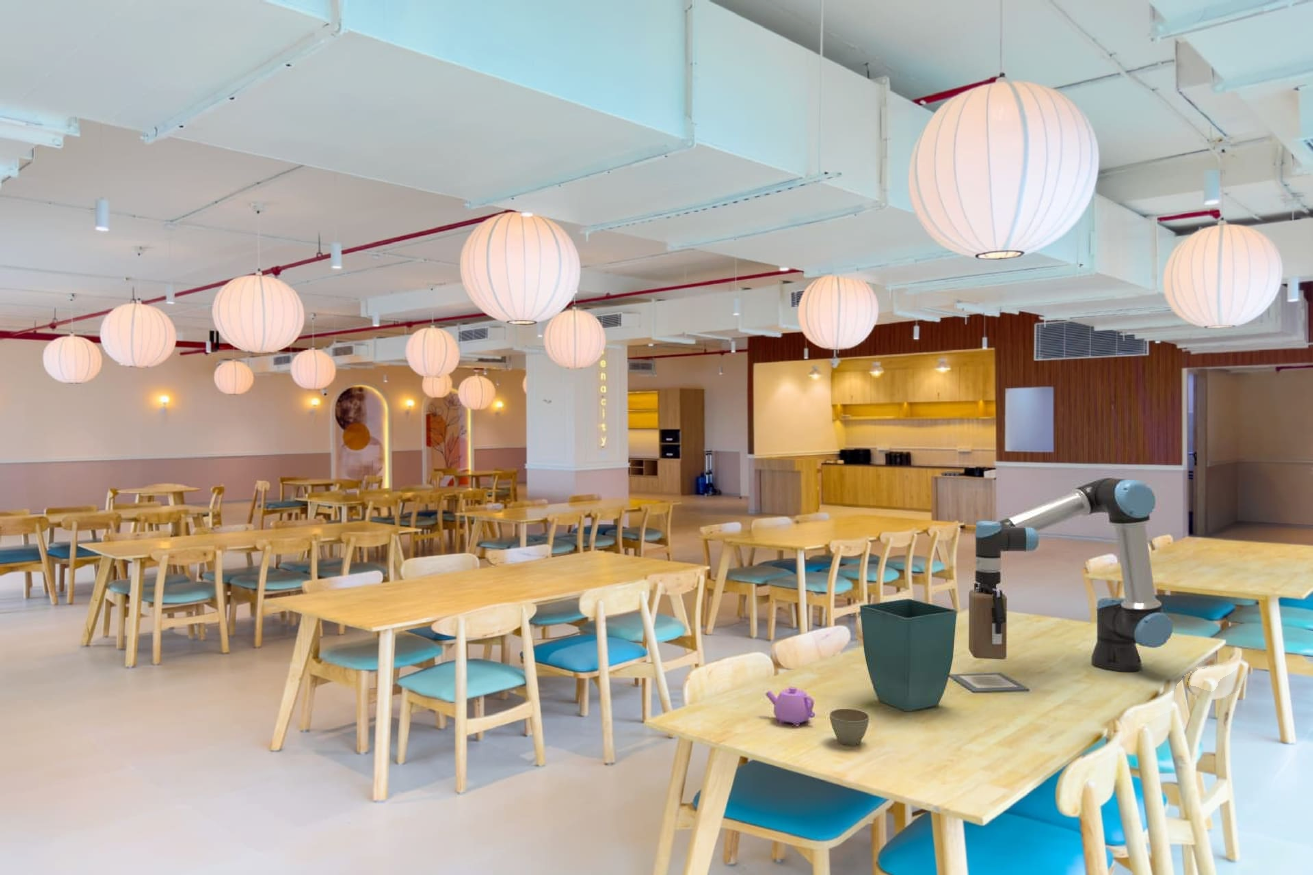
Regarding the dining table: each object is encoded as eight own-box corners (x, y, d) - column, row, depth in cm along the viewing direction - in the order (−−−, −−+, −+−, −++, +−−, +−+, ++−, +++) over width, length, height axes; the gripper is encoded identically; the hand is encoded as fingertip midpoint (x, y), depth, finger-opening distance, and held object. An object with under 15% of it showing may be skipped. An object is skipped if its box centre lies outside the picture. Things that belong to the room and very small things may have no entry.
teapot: (806, 731, 232) (806, 696, 232) (756, 720, 241) (756, 686, 241) (823, 720, 240) (823, 687, 240) (774, 710, 249) (774, 677, 249)
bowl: (824, 736, 228) (824, 708, 228) (862, 734, 229) (862, 707, 229) (835, 749, 218) (835, 721, 218) (874, 748, 219) (874, 720, 219)
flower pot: (906, 718, 242) (906, 617, 241) (858, 699, 259) (858, 604, 259) (958, 708, 251) (958, 610, 251) (908, 689, 269) (908, 598, 268)
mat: (1000, 674, 285) (1000, 672, 285) (1029, 690, 267) (1029, 688, 267) (948, 676, 283) (948, 673, 283) (973, 692, 265) (973, 690, 265)
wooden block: (1007, 660, 269) (1007, 595, 269) (973, 658, 271) (973, 594, 271) (1000, 652, 279) (1001, 590, 279) (968, 650, 281) (968, 588, 281)
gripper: (959, 564, 286) (959, 630, 287) (994, 576, 263) (994, 648, 263) (981, 564, 287) (981, 630, 287) (1018, 576, 263) (1017, 648, 264)
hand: (987, 639), depth 275 cm, fingers closed on wooden block, 11 cm apart
